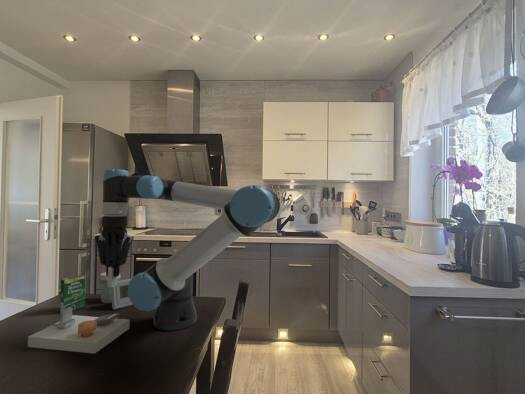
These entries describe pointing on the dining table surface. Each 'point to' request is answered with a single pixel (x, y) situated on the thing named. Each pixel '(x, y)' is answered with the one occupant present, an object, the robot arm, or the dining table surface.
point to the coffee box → (73, 292)
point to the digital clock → (121, 295)
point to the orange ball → (87, 328)
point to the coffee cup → (106, 288)
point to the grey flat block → (106, 318)
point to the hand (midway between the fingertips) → (112, 286)
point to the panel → (78, 336)
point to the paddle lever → (66, 318)
